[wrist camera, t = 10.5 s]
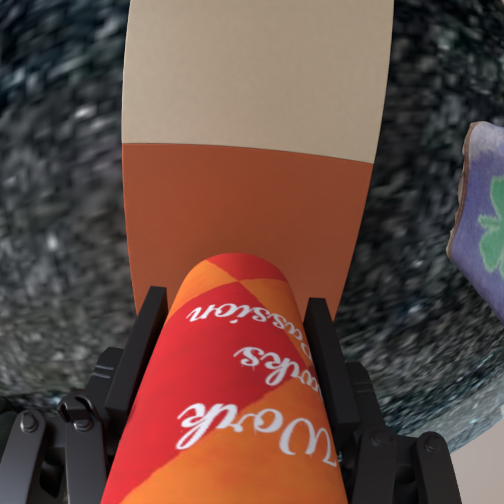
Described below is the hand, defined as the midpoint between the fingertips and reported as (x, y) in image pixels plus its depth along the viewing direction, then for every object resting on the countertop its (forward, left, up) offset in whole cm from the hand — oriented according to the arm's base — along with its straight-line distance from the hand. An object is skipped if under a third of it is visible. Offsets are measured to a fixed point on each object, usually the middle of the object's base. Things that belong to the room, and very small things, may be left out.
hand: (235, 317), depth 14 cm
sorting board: (-7, 0, -4) cm, 8 cm away
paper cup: (0, 0, -1) cm, 1 cm away
